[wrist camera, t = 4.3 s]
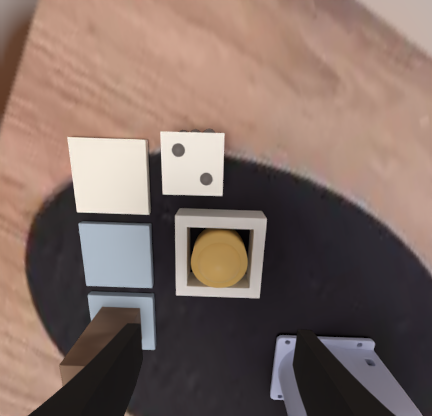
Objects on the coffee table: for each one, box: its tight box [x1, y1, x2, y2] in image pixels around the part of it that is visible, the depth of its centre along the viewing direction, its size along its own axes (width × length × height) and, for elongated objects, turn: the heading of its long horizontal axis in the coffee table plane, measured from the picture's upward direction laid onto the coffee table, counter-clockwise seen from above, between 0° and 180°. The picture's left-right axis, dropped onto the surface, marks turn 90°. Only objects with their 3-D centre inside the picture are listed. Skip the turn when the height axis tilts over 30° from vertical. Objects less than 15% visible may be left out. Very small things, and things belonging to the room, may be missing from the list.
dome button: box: [191, 228, 248, 288], centre depth 18 cm, size 4×4×4 cm
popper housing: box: [175, 208, 267, 298], centre depth 20 cm, size 7×7×2 cm
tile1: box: [79, 221, 154, 288], centre depth 21 cm, size 6×6×1 cm
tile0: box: [88, 291, 156, 350], centre depth 22 cm, size 6×6×1 cm
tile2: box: [67, 137, 151, 215], centre depth 19 cm, size 6×6×1 cm
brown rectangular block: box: [59, 307, 142, 386], centre depth 19 cm, size 4×4×6 cm
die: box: [160, 129, 224, 196], centre depth 17 cm, size 4×4×4 cm
